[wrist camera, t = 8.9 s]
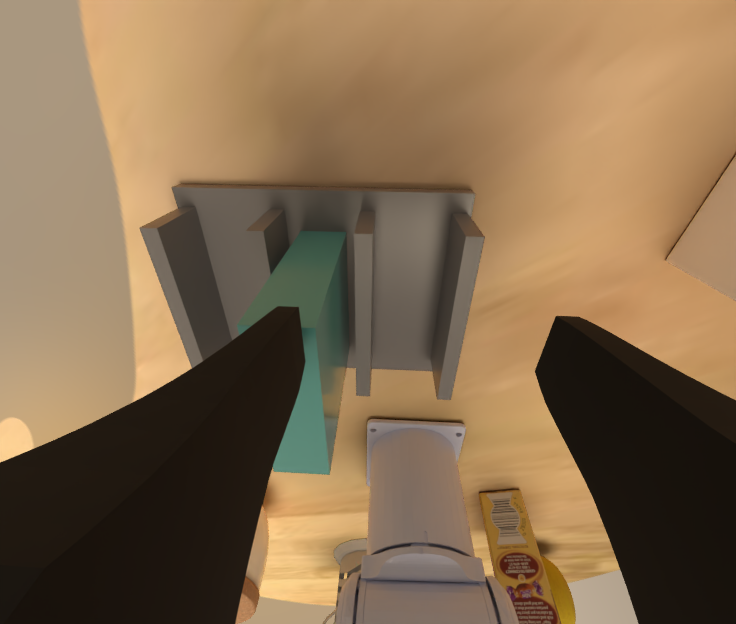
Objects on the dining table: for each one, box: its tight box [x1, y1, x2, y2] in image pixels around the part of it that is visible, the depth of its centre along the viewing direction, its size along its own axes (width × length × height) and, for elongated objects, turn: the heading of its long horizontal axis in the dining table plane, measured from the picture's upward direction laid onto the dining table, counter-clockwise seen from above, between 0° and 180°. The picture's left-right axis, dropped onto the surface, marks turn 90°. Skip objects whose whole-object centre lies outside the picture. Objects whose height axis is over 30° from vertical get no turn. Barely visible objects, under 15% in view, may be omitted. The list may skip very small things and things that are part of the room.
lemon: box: [541, 556, 576, 624], centre depth 35 cm, size 6×6×8 cm
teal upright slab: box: [237, 231, 350, 475], centre depth 16 cm, size 8×2×9 cm, turn 0°
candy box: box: [479, 490, 561, 624], centre depth 28 cm, size 9×4×15 cm, turn 18°
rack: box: [140, 184, 485, 400], centre depth 19 cm, size 12×16×4 cm
